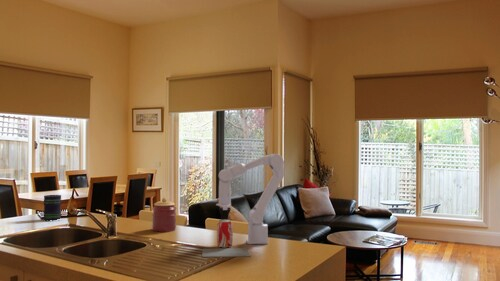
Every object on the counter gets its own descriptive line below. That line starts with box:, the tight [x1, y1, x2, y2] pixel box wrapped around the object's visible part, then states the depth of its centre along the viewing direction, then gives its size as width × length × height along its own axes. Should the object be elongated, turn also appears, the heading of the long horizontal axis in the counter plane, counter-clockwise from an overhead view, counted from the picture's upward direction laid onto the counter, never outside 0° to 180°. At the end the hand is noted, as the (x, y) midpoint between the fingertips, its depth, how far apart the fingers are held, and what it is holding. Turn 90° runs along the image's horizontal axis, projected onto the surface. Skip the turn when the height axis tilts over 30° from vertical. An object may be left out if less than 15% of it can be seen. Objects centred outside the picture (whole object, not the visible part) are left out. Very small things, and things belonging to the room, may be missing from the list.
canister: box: [151, 197, 177, 233], centre depth 232 cm, size 13×13×18 cm
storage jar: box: [43, 194, 62, 221], centre depth 260 cm, size 10×10×15 cm
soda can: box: [216, 219, 234, 248], centre depth 193 cm, size 7×7×12 cm
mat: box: [201, 247, 251, 258], centre depth 181 cm, size 20×14×1 cm
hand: (224, 223), depth 200 cm, fingers closed
